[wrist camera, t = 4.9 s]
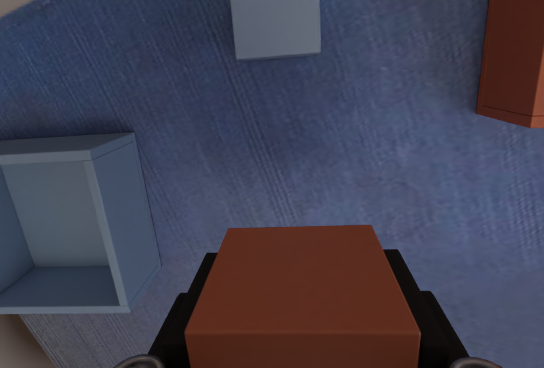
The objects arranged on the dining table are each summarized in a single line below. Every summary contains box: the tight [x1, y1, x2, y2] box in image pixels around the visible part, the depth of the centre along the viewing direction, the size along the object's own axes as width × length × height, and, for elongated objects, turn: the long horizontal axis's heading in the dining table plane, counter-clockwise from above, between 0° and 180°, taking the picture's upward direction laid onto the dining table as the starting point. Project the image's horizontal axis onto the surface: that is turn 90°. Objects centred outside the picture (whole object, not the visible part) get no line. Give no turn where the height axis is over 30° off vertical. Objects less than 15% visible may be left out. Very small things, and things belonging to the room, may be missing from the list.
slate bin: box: [0, 132, 162, 314], centre depth 24 cm, size 11×11×6 cm
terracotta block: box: [184, 225, 421, 368], centre depth 9 cm, size 4×4×4 cm
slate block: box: [230, 0, 321, 61], centre depth 19 cm, size 4×4×4 cm
